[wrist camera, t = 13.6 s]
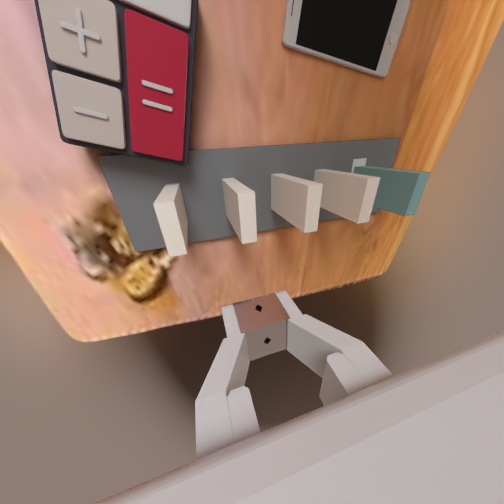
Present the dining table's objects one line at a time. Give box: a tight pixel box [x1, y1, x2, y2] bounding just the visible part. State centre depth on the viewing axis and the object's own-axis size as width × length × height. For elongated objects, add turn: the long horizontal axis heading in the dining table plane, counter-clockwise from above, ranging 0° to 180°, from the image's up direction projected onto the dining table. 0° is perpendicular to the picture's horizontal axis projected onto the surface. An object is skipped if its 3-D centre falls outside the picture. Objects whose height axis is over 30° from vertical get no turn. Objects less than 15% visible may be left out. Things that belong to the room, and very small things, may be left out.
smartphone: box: [282, 0, 411, 78], centre depth 22 cm, size 7×15×1 cm, turn 83°
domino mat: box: [97, 138, 400, 252], centre depth 28 cm, size 12×42×1 cm, turn 93°
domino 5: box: [353, 166, 430, 216], centre depth 27 cm, size 2×5×10 cm, turn 3°
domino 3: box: [271, 173, 323, 233], centre depth 24 cm, size 2×5×10 cm, turn 3°
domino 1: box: [153, 183, 188, 257], centre depth 21 cm, size 2×5×10 cm, turn 3°
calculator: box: [35, 0, 198, 166], centre depth 17 cm, size 11×4×15 cm
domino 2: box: [222, 178, 257, 244], centre depth 22 cm, size 2×5×10 cm, turn 3°
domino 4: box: [314, 169, 380, 224], centre depth 26 cm, size 2×5×10 cm, turn 3°
